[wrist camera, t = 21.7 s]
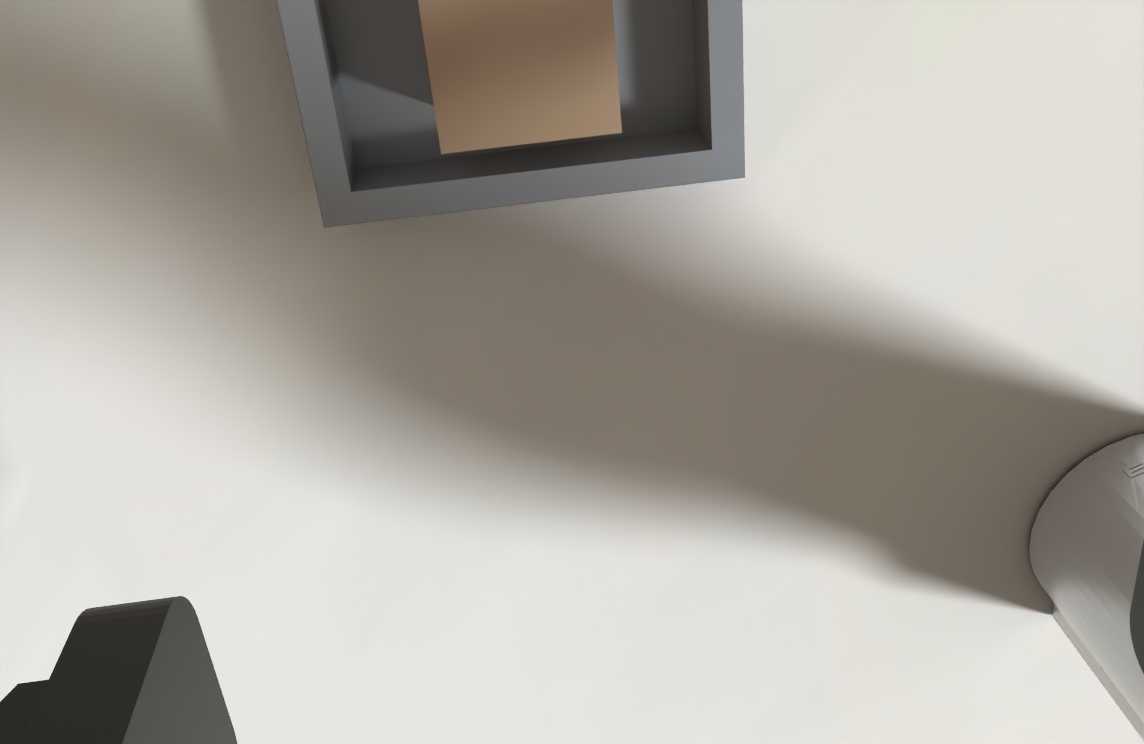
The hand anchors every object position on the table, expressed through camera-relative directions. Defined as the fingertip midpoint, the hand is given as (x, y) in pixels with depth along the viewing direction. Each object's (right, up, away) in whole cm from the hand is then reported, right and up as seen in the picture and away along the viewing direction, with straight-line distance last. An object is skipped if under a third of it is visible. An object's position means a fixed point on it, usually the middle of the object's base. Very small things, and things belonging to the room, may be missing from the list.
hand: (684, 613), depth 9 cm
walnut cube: (-3, +13, +24) cm, 28 cm away
